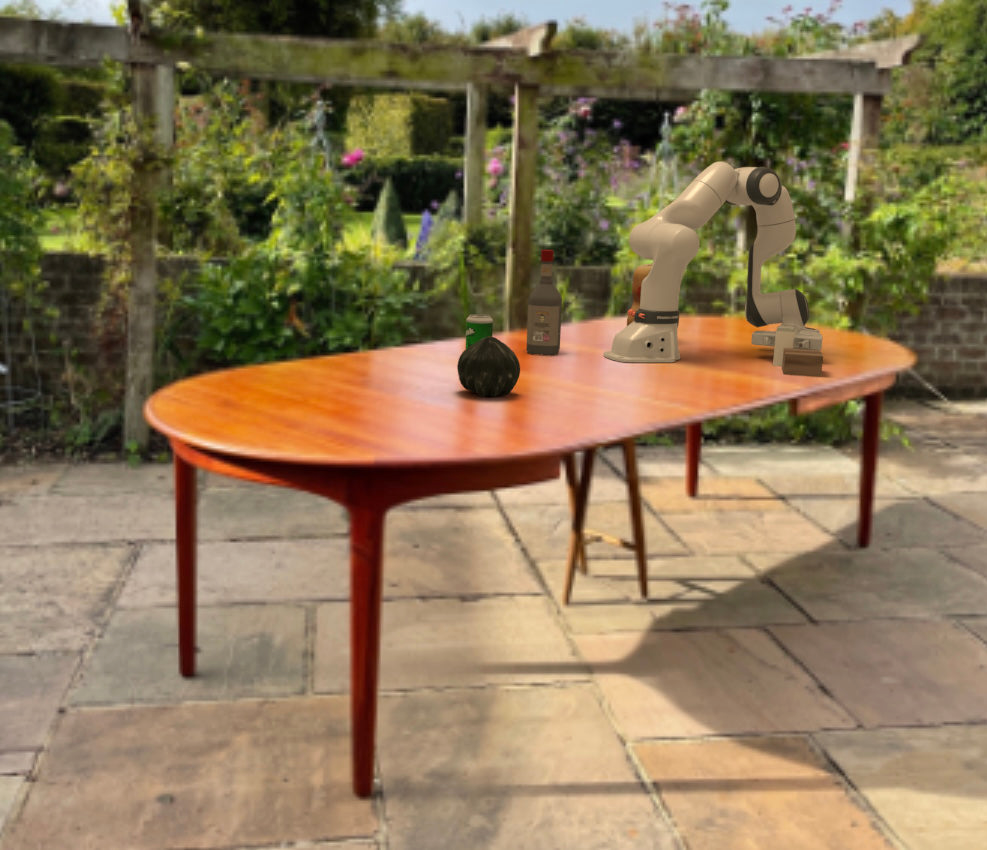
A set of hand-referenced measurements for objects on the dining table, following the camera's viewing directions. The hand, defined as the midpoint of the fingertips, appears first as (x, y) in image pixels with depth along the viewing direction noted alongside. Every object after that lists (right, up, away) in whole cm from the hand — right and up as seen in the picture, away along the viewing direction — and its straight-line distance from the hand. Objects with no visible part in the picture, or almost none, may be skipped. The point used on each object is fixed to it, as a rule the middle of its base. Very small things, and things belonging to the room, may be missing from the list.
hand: (784, 343), depth 315 cm
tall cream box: (-1, -6, 0) cm, 6 cm away
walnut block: (+2, -9, -11) cm, 15 cm away
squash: (-85, -16, -54) cm, 102 cm away
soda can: (-88, -5, -5) cm, 89 cm away
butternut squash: (-35, +3, +33) cm, 48 cm away
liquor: (-70, -2, +7) cm, 70 cm away
